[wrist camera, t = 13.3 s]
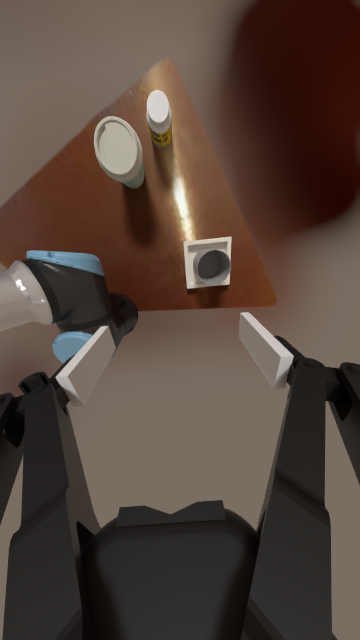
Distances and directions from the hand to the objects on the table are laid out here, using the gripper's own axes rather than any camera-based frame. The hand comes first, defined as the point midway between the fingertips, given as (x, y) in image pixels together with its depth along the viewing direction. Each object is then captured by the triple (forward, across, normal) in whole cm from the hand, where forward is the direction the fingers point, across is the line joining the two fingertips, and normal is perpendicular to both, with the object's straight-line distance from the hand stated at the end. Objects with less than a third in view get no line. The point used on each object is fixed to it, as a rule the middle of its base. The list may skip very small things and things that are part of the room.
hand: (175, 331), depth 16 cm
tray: (+37, +10, +2) cm, 38 cm away
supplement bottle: (+37, 0, +30) cm, 48 cm away
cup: (+36, +10, +2) cm, 38 cm away
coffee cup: (+37, -8, +24) cm, 45 cm away
